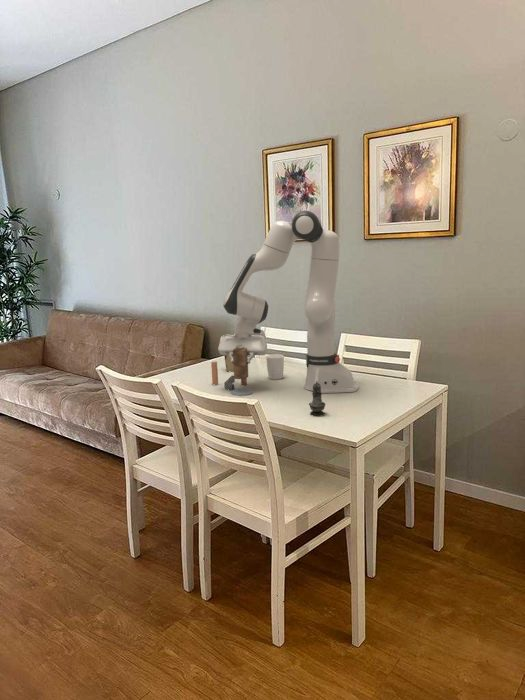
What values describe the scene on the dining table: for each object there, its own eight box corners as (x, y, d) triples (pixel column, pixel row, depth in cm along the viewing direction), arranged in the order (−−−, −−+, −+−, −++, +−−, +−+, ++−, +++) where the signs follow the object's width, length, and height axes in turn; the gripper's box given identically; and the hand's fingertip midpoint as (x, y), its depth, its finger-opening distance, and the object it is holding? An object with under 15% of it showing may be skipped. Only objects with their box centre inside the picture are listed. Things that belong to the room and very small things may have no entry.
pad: (255, 389, 218) (255, 388, 218) (250, 396, 209) (250, 394, 209) (234, 389, 220) (234, 387, 220) (228, 395, 211) (228, 394, 211)
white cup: (282, 380, 232) (282, 358, 230) (265, 379, 233) (264, 358, 231) (285, 375, 239) (285, 354, 237) (268, 375, 241) (268, 354, 239)
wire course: (249, 381, 232) (248, 359, 230) (241, 390, 217) (240, 367, 215) (217, 380, 235) (215, 359, 233) (206, 390, 220) (205, 367, 218)
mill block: (248, 376, 215) (247, 344, 213) (245, 379, 211) (244, 347, 208) (237, 376, 216) (235, 344, 214) (234, 379, 212) (232, 347, 209)
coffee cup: (225, 367, 258) (224, 344, 256) (244, 367, 258) (243, 343, 255) (223, 372, 249) (222, 348, 247) (243, 372, 249) (241, 347, 246)
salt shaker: (306, 414, 184) (305, 382, 182) (313, 410, 189) (313, 378, 187) (320, 417, 181) (320, 384, 179) (328, 412, 186) (328, 379, 184)
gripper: (219, 330, 219) (213, 358, 211) (267, 330, 214) (263, 358, 207) (222, 338, 224) (217, 366, 216) (269, 339, 219) (265, 367, 212)
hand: (240, 362), depth 212 cm, fingers closed on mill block, 5 cm apart
